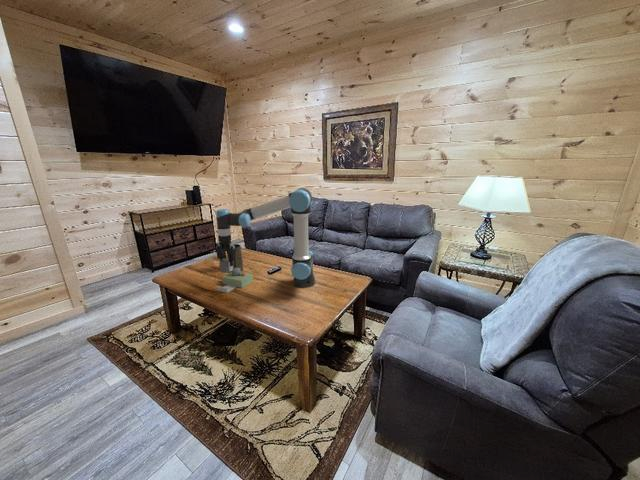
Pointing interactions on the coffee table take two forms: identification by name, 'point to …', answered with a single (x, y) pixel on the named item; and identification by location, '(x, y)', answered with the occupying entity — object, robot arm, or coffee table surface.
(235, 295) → the coffee table surface
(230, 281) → the green base with dome
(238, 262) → the beer stein
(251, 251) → the coffee table surface
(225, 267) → the tall grey cuboid
